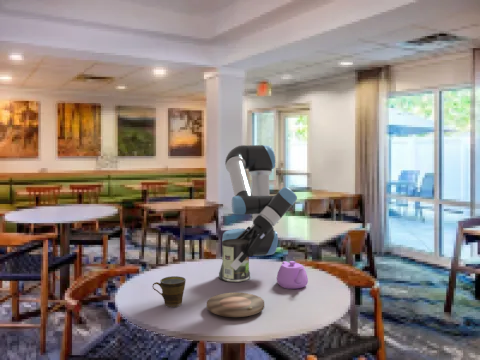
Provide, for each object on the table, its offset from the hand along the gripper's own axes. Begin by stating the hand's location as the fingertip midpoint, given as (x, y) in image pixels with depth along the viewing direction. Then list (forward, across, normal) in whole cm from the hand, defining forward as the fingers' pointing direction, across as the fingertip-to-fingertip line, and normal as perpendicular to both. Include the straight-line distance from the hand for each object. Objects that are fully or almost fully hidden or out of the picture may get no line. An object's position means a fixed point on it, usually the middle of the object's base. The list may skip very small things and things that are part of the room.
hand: (228, 264), depth 154 cm
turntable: (+11, 0, -15) cm, 18 cm away
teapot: (-13, +18, -39) cm, 45 cm away
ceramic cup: (+27, +14, +1) cm, 31 cm away
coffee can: (+2, 0, -6) cm, 6 cm away
